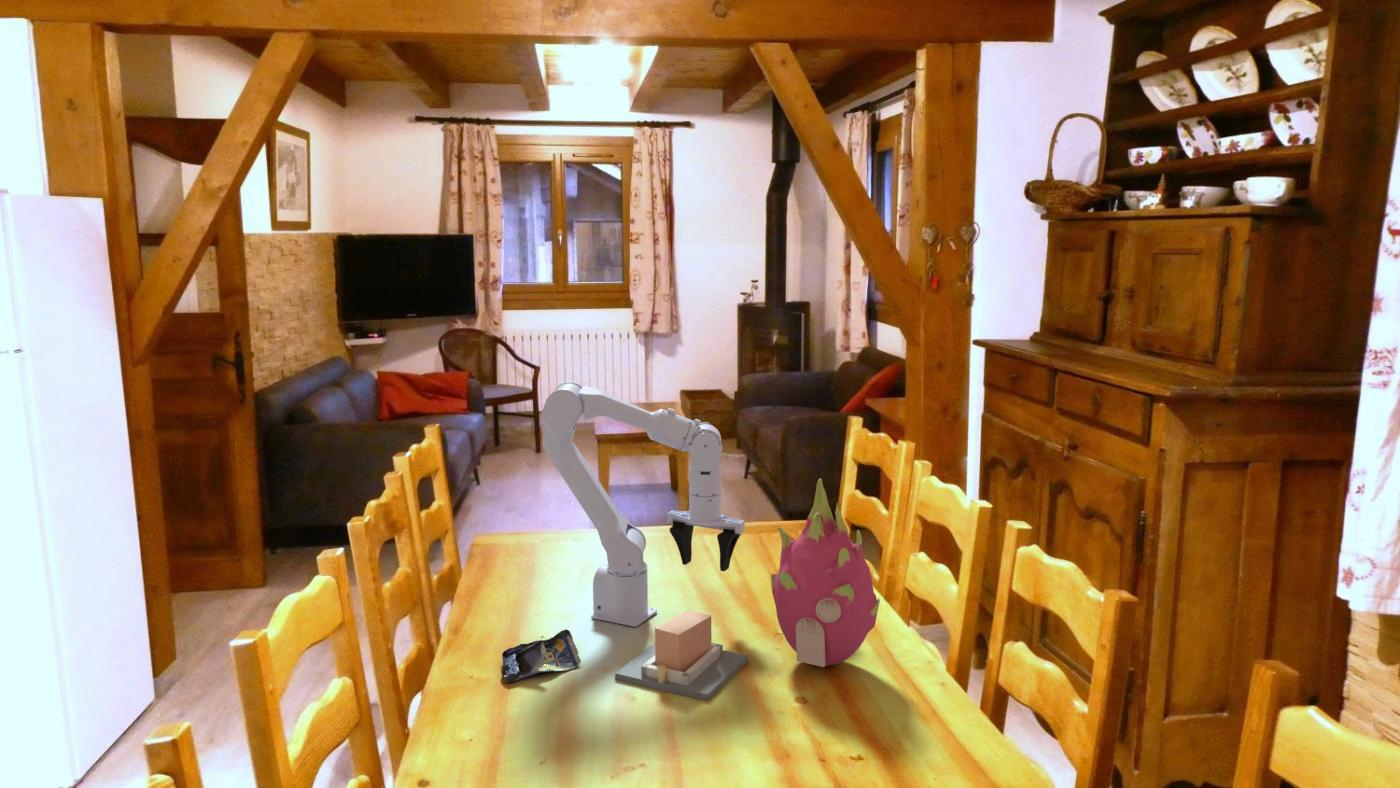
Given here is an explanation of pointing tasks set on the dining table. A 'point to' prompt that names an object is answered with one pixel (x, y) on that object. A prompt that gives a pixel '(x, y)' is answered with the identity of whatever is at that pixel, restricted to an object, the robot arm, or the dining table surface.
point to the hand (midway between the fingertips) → (705, 566)
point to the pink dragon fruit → (824, 589)
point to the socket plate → (685, 673)
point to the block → (683, 640)
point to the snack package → (540, 656)
